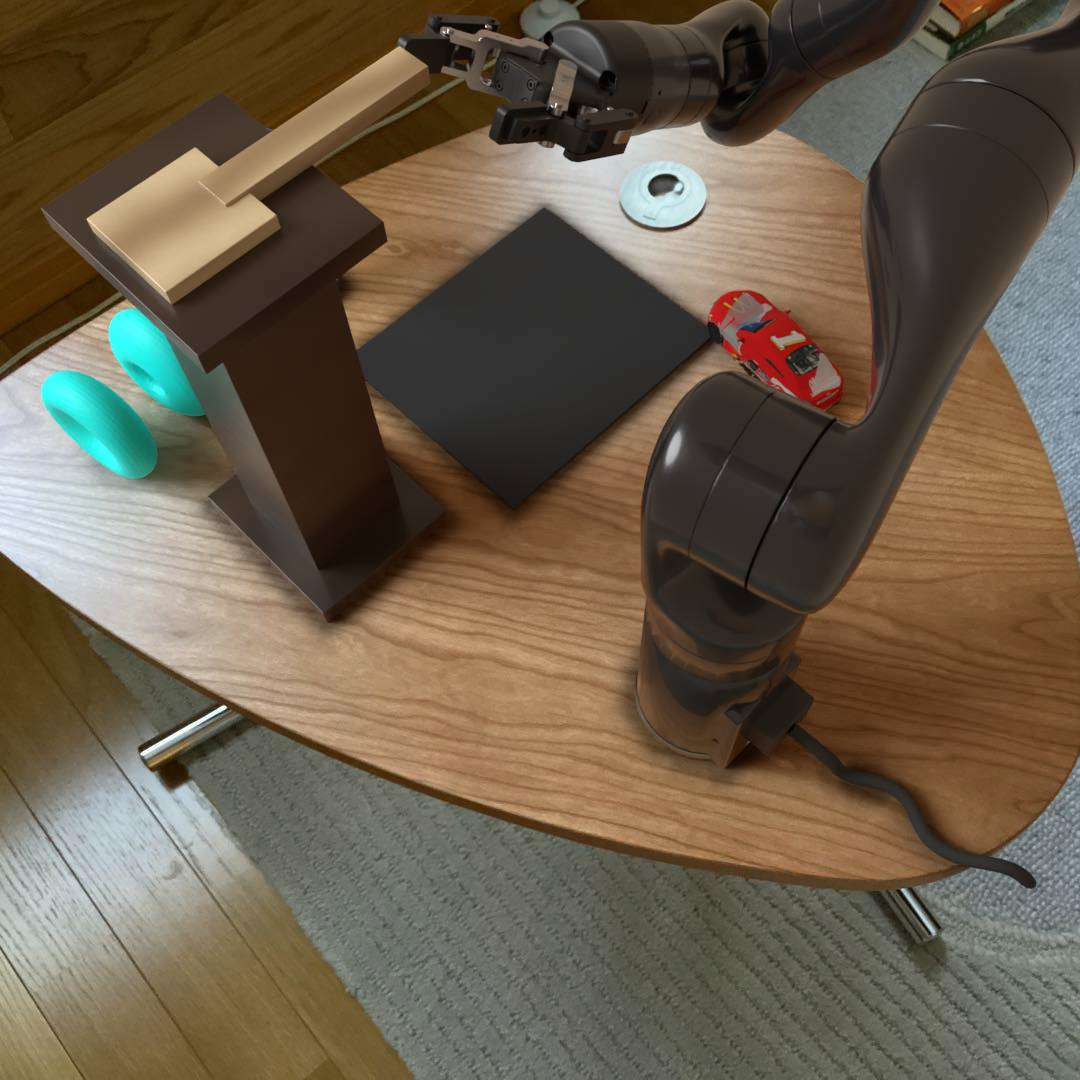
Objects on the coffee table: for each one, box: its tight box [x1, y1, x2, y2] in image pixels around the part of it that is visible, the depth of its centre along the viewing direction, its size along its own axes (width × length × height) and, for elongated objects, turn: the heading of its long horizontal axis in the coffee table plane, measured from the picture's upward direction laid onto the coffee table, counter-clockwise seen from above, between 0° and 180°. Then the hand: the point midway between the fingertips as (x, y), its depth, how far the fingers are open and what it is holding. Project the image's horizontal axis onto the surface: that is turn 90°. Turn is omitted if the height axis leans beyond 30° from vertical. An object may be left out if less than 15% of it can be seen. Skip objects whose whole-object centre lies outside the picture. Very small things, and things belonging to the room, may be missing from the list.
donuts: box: [40, 307, 206, 480], centre depth 89 cm, size 10×10×10 cm
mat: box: [356, 206, 713, 511], centre depth 95 cm, size 20×23×1 cm
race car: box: [706, 289, 845, 412], centre depth 92 cm, size 13×5×4 cm, turn 33°
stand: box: [40, 91, 449, 623], centre depth 75 cm, size 14×12×32 cm
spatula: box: [87, 46, 431, 305], centre depth 62 cm, size 7×20×1 cm, turn 135°
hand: (446, 89), depth 68 cm, fingers open, 8 cm apart
